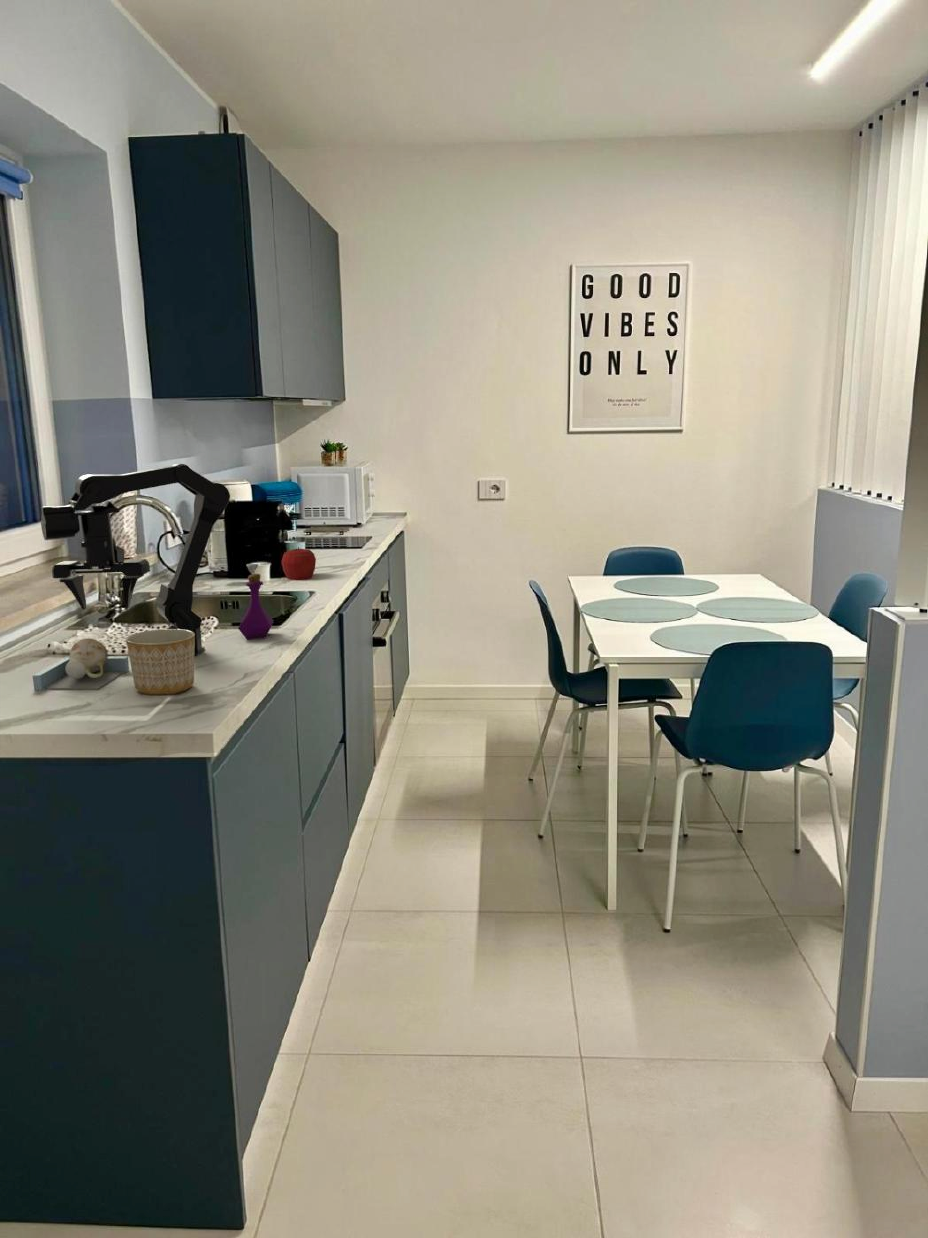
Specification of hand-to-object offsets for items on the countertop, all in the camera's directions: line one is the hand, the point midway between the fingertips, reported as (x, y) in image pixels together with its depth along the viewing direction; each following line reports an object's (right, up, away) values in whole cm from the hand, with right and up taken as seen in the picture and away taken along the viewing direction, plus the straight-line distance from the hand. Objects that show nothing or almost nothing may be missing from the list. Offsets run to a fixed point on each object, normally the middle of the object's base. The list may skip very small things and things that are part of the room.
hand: (106, 608), depth 198 cm
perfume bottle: (+27, -7, +25) cm, 37 cm away
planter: (+18, -16, -16) cm, 28 cm away
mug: (0, -15, -11) cm, 19 cm away
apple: (+24, +9, +97) cm, 101 cm away
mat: (0, -15, -10) cm, 18 cm away
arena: (-1, -15, -9) cm, 17 cm away
